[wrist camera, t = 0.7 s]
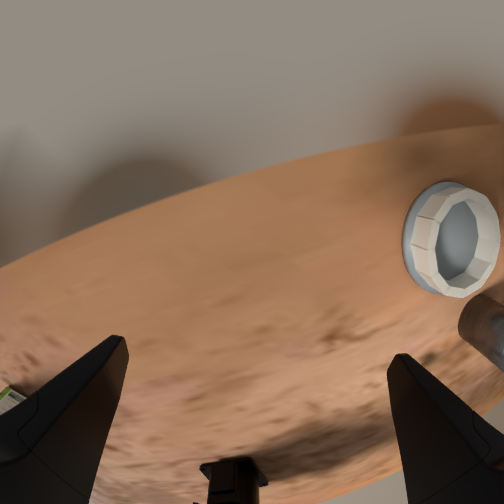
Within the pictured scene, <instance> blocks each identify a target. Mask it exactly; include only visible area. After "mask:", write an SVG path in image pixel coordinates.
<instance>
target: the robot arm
mask: <svg viewBox="0 0 504 504" xmlns="http://www.w3.org/2000/svg"><path fill="white" fill-rule="evenodd" d="M128 361H129V353H128V349H127V345H126V341H125V338H124V337H122V336H118V335H111V336H109V337H108V338H107V339H105V340H104V341H103V342H101V343H100V344H99V345H97V346H96V347H94V348H93V349H92V350H90V351H89V352H88V353H86V354H85V355H84V356H82V357H81V358H80V359H78V360H77V361H75V362H74V363H73V364H71V365H70V366H69V367H67V368H66V369H65V370H63V371H62V372H61V373H59V374H58V375H57V376H55V377H54V378H53V379H51V380H50V381H49V382H47V383H46V384H45V385H43V386H42V387H41V388H39V389H38V391H35V392H34V393H33V394H31V395H30V396H29V397H27V398H26V399H24V400H23V401H22V402H20V403H19V404H17V405H16V406H14V407H13V408H11V409H9V410H8V411H6V412H4V413H3V414H1V415H0V504H89V499H90V496H91V492H92V488H93V484H94V481H95V477H96V473H97V470H98V466H99V463H100V459H101V456H102V453H103V449H104V446H105V443H106V440H107V436H108V433H109V430H110V427H111V424H112V421H113V418H114V415H115V412H116V409H117V406H118V403H119V400H120V396H121V391H122V387H123V382H124V378H125V373H126V369H127V365H128ZM387 381H388V388H389V396H390V404H391V411H392V416H393V421H394V426H395V430H396V435H397V440H398V445H399V450H400V455H401V461H402V466H403V472H404V477H405V484H406V491H407V498H408V504H504V434H502V433H501V432H499V431H498V430H496V429H495V428H494V427H493V426H492V425H490V424H489V423H488V422H486V421H485V420H484V419H483V418H482V417H481V416H479V415H478V414H477V413H476V412H475V411H474V410H473V411H472V409H471V408H470V407H469V406H468V405H467V404H466V403H465V402H463V401H462V400H461V399H460V398H459V397H458V396H457V395H455V394H454V393H453V392H452V391H451V390H450V389H448V388H447V387H446V386H445V385H444V384H443V383H442V382H440V381H439V380H438V379H437V378H436V377H435V376H433V375H432V374H431V373H430V372H429V371H428V370H426V369H425V368H424V367H423V366H422V365H420V364H419V363H418V362H417V361H416V360H415V359H413V358H412V357H411V356H410V355H409V354H407V353H401V354H396V355H395V357H394V359H393V360H392V362H391V364H390V366H389V368H388V370H387ZM199 469H200V471H201V472H202V473H203V474H204V475H205V476H206V477H207V479H208V480H209V487H208V498H207V504H259V487H263V486H267V485H268V481H267V479H266V478H265V477H264V475H263V474H262V472H261V471H260V470H259V468H258V467H257V465H256V464H255V462H254V461H253V459H252V458H243V459H237V460H232V461H226V462H219V463H212V464H205V465H200V468H199ZM193 504H198V503H195V502H193Z"/></svg>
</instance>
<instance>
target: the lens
mask: <svg viewBox="0 0 504 504" xmlns="http://www.w3.org/2000/svg"><path fill="white" fill-rule="evenodd" d="M458 332H459V335H460V336H461V337H462V338H463V339H464V340H465V341H467V342H468V343H469V344H470V345H472V346H473V347H474V348H475V349H476V350H478V351H479V352H480V353H481V354H483V355H484V356H485V357H486V358H487V359H489V360H490V361H491V362H492V363H493V364H495V365H496V366H497V367H498V368H499V369H500V370H502V371H503V372H504V305H502V304H501V303H499V302H497V301H495V300H493V299H491V298H490V297H488V296H486V295H483V294H480V295H477V296H475V297H473V298H472V299H471V300H470V301H469V302H468V303H467V304H466V306H465V307H464V309H463V311H462V313H461V315H460V318H459V323H458Z"/></svg>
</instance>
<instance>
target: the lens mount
mask: <svg viewBox="0 0 504 504" xmlns="http://www.w3.org/2000/svg"><path fill="white" fill-rule="evenodd" d="M500 240H501V238H500V228H499V220H498V216H497V213H496V211H495V209H494V208H493V206H492V204H491V203H490V201H489V199H488V198H487V196H486V195H483V194H481V193H479V192H477V191H474V190H472V189H470V188H467V187H466V186H464V185H462V184H459V183H456V182H439V183H435V184H433V185H431V186H429V187H427V188H426V189H424V190H423V191H422V192H421V193H420V194H419V195H418V196H417V198H416V199H415V200H414V202H413V203H412V205H411V207H410V209H409V211H408V213H407V216H406V218H405V222H404V226H403V231H402V254H403V259H404V263H405V266H406V268H407V271H408V273H409V274H410V276H411V277H412V279H413V280H414V281H415V282H416V283H417V284H418V285H419V286H421V287H422V288H424V289H425V290H427V291H429V292H431V293H435V294H444V295H445V296H452V297H459V298H463V297H466V296H468V295H469V294H471V293H473V292H474V291H476V290H478V289H479V288H481V286H483V284H484V283H485V281H486V280H487V278H488V277H489V275H490V274H491V272H492V270H493V269H494V266H495V264H496V260H497V256H498V252H499V247H500ZM493 265H494V266H493Z"/></svg>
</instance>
